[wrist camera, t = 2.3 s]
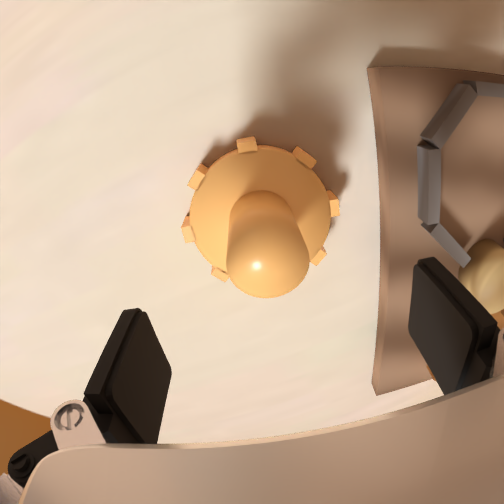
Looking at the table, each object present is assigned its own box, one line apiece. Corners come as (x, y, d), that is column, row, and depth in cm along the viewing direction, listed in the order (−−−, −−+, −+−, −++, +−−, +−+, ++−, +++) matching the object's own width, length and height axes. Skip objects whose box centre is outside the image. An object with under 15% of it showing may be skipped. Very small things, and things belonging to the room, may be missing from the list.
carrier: (366, 68, 14) (447, 59, 8) (537, 82, 14) (613, 99, 7) (371, 383, 25) (397, 453, 19) (501, 338, 24) (538, 388, 18)
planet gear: (169, 154, 16) (135, 184, 11) (322, 125, 16) (363, 142, 10) (205, 284, 20) (195, 353, 15) (336, 260, 19) (367, 323, 14)
